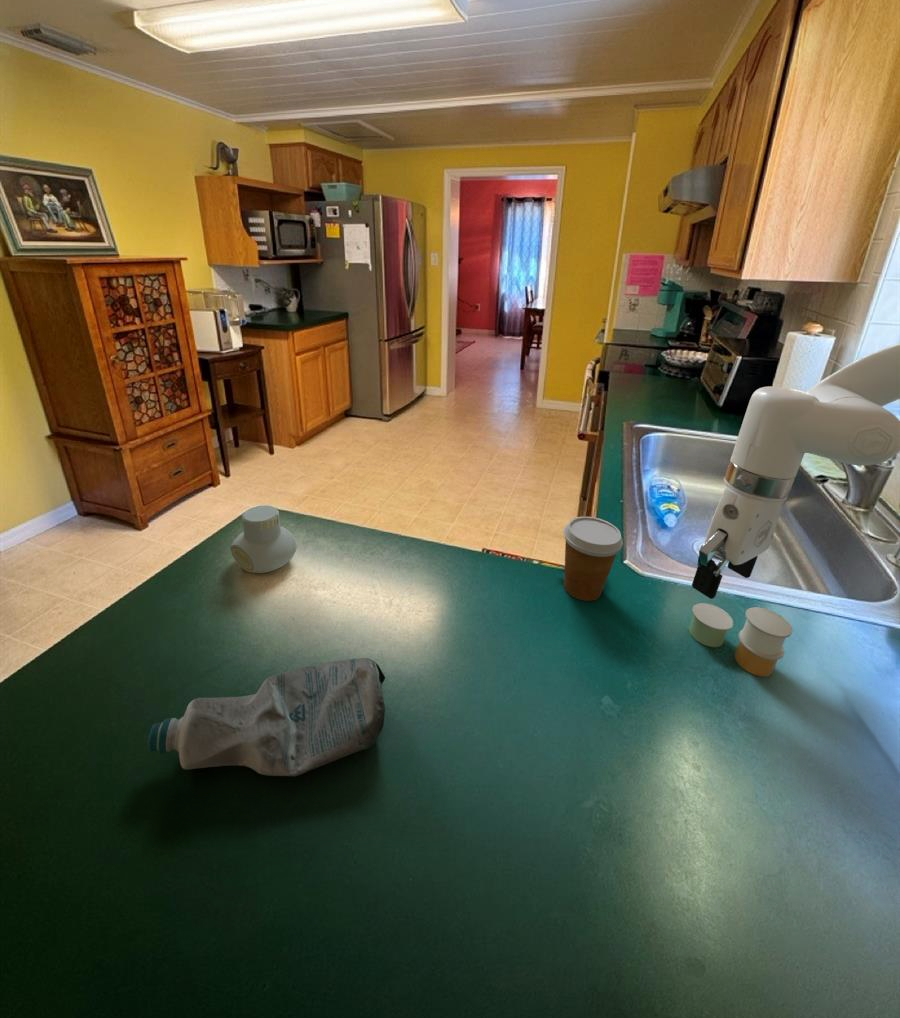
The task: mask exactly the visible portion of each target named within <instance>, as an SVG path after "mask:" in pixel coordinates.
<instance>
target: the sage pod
mask: <svg viewBox="0 0 900 1018" xmlns="http://www.w3.org/2000/svg"><path fill="white" fill-rule="evenodd" d="M691 609H692V610H691V612H692V615H693V616H692V619H691V622H690V624H689V625H690V626H689V628H688V630H689V631H688V632H689V634H690V636H691V637H692V638H693V639H694V640H695V641H697V642H698V643H700V644H701V645H704V646H706V647H710V648H719V647H721V646H722V645H724V642H725V639H726V637H727V634H728V631H730V630H732V628H733V627H734V626H733V625H734V620H733V618H732V616H731V615H730V614H729V613H728V612H726V611H725V610H724V609H722V608H721V607H720V606H717V605H714V604H711V603H706V602H699V603H696V604H694V605H693V606H692V608H691Z"/></svg>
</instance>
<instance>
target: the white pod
mask: <svg viewBox="0 0 900 1018" xmlns="http://www.w3.org/2000/svg"><path fill="white" fill-rule="evenodd" d="M744 616H745V619H746V621H745V623H744V626H743V629H742V630H743V631H742V634H741V636H742V639H743V641H744V642H745V643H746V644H747V645H748V646H749V647H750V648H752V649H753V650H755V651H757V652H759V653H762V654H765V655H771V656H773V655H777V654H779V652H780V650H781V648H782V647H783V645H784V644H785V641H786V639H787V638H789V637H790V636H791V635H792V634H793V626H792V625H791V624H790V622H789V621H788V620H787V619H786V618H784V616H782V615H780V614H779V613H777V612H775V611H772V610H770V609H767V608H764V607H758V606H754V607H753V606H752V607H750V608H748V609H746V611H745V614H744Z"/></svg>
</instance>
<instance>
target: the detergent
mask: <svg viewBox="0 0 900 1018" xmlns="http://www.w3.org/2000/svg"><path fill="white" fill-rule="evenodd" d="M385 679H386V676H385V674H384V672H383V671H382V669H381V667H380V666H379V664H378V663H377V662H376V661H375V660H373V659H371V658H368V657H357V658H352V659H350V658H349V659H345V660H337V661H327V662H321V663H317V664H313V665H308V666H302V667H298V668H292V669H288V670H286V671H285V670H284V671H283V672H280V673H276V674H274V675H271V676H269V677H267V678H266V679H264V681H263V682H262V683H261V686H260V688H259V689H258V691H257V692H256V693H253V694H248V695H243V696H224V697H223V696H222V697H221V696H220V697H196V698H194V699H192V700H191V701H190V702H189V703H188V705H187V707H186V710H185V712H184V714H183V716H181V717H180V718H179V719H178V718H176V717H170V718H165V719H164V720H163V722H162V721H161V722H155V723H153V724H152V726H151V728H150V731H149V734H148V741H147V745H148V746H147V747H148V751H150V752H157V753H160V754H167V753H170V752H171V751H174V750H176V751H177V752H178V759H179V764H180V767H181V768H182V769H183V770H195V769H204V768H205V769H207V768H214V767H215V768H216V767H225V766H226V767H229V766H240V767H243V766H244V767H247V768H250V769H252V770H253V771H255V773H258V774H260V775H263V776H267V777H297V776H300V775H302V774H305V773H307V772H311V771H312V770H315V769H318V768H320V767H322V766H325V765H327V764H328V765H329V764H330V763H332V762H335V761H337V760H340V759H342V758H345V757H348V756H350V755H352V754H356V753H358V752H361V751H364V750H367V749H369V748H371V747H372V746H373V745H374V744H376V742H377V741H378V738H379V736H380V734H381V732H382V730H383V728H384V725H385V712H386V709H385V708H386V706H385V699H384V694H383V693H384V692H383V683H384V681H385Z"/></svg>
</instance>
